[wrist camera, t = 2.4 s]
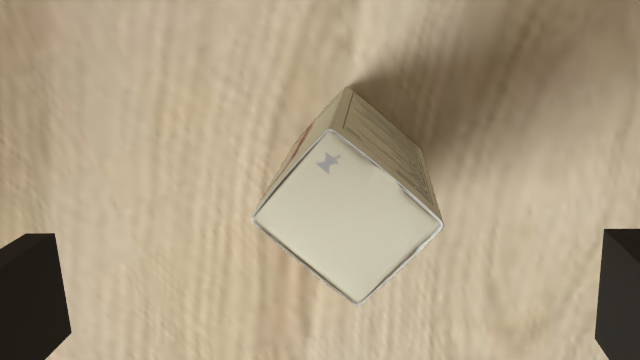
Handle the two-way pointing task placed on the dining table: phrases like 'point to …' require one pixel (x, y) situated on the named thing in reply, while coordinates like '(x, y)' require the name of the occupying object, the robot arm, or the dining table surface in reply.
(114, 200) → the dining table surface
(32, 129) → the dining table surface
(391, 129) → the cardboard box
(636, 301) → the robot arm
